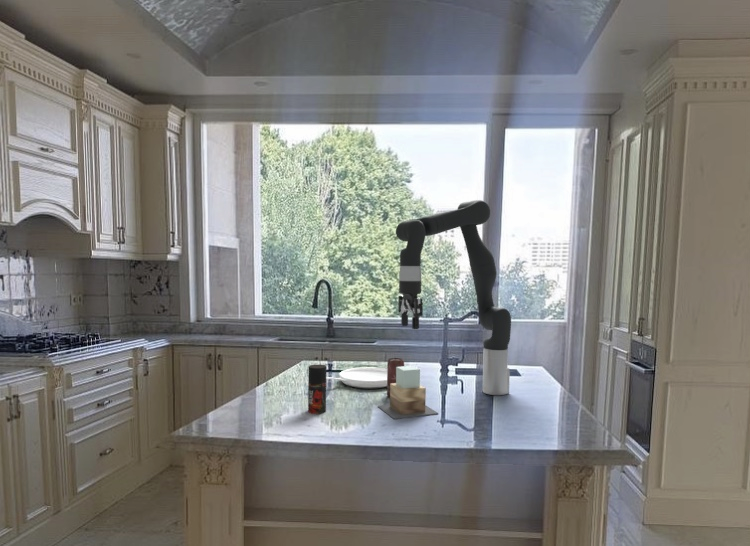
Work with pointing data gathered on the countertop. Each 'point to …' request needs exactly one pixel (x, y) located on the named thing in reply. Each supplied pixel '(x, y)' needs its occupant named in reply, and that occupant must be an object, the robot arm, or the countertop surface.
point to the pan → (364, 377)
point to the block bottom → (407, 406)
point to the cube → (407, 377)
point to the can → (392, 371)
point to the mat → (396, 415)
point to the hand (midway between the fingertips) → (409, 327)
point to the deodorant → (317, 389)
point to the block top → (407, 393)
